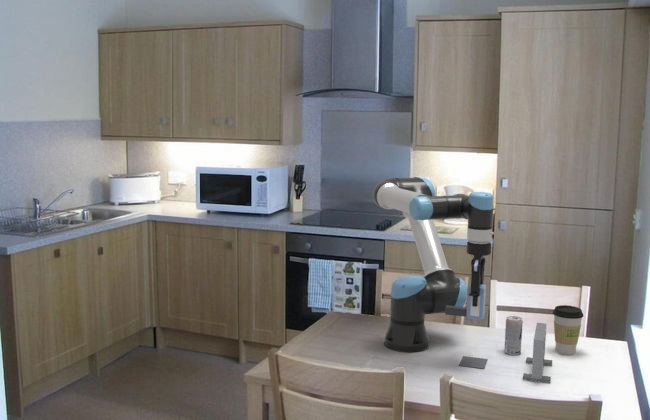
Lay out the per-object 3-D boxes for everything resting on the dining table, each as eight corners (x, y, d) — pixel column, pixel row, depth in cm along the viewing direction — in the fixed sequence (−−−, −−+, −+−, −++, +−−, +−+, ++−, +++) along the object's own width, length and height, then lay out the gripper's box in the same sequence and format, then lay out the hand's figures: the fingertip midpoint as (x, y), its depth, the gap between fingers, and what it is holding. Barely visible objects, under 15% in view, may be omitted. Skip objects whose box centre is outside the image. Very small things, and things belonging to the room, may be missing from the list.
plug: (444, 315, 229) (445, 285, 227) (447, 311, 234) (448, 281, 232) (482, 319, 225) (483, 288, 223) (484, 315, 230) (486, 284, 229)
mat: (458, 365, 228) (458, 365, 228) (462, 356, 236) (462, 355, 236) (484, 369, 225) (484, 368, 225) (487, 359, 234) (487, 358, 234)
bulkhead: (522, 379, 217) (525, 338, 215) (526, 360, 234) (528, 321, 232) (550, 383, 214) (552, 341, 213) (552, 363, 231) (554, 324, 229)
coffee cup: (582, 357, 237) (586, 314, 234) (551, 355, 239) (554, 311, 236) (578, 348, 246) (581, 305, 244) (548, 345, 248) (551, 303, 246)
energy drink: (522, 351, 242) (524, 317, 240) (519, 356, 237) (521, 321, 235) (506, 349, 244) (507, 315, 242) (502, 353, 239) (504, 319, 238)
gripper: (488, 247, 215) (484, 322, 218) (494, 237, 232) (491, 306, 235) (462, 245, 217) (459, 319, 221) (471, 235, 235) (468, 304, 238)
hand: (475, 312), depth 228 cm, fingers closed on plug, 5 cm apart
